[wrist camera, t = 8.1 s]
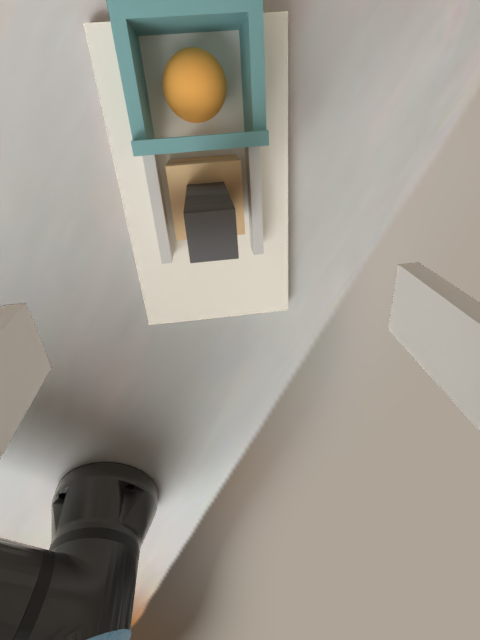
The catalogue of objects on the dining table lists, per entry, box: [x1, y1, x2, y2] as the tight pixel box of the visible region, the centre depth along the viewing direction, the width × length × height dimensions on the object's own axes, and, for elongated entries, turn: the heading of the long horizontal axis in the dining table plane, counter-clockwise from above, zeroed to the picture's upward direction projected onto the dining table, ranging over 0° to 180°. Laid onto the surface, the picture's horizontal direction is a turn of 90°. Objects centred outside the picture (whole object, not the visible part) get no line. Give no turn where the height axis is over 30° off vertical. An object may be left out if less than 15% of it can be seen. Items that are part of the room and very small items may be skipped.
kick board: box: [83, 11, 288, 325], centre depth 35 cm, size 27×16×4 cm, turn 4°
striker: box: [165, 154, 245, 263], centre depth 28 cm, size 6×6×15 cm
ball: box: [162, 47, 227, 123], centre depth 29 cm, size 5×5×5 cm
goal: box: [106, 0, 269, 156], centre depth 28 cm, size 9×10×7 cm
